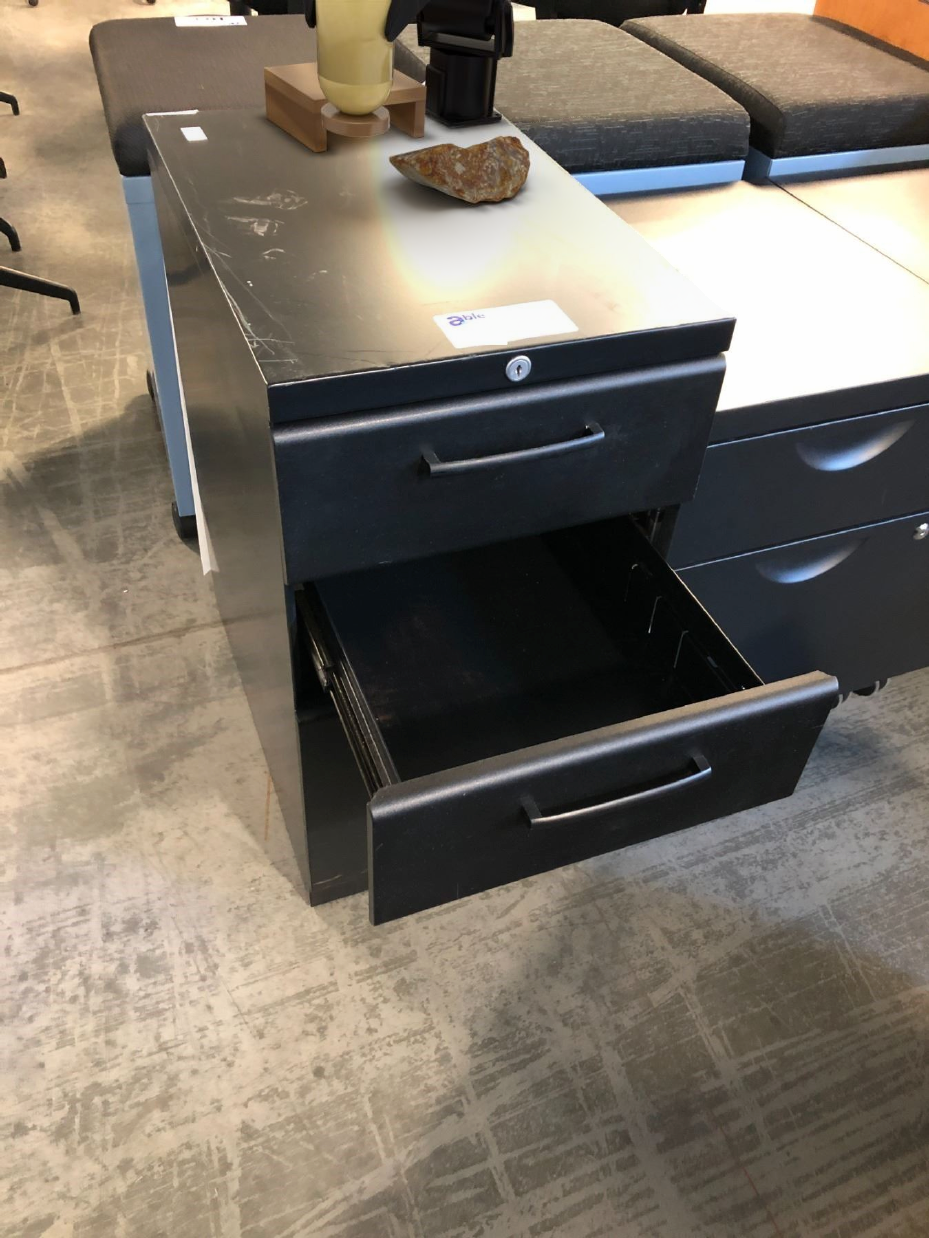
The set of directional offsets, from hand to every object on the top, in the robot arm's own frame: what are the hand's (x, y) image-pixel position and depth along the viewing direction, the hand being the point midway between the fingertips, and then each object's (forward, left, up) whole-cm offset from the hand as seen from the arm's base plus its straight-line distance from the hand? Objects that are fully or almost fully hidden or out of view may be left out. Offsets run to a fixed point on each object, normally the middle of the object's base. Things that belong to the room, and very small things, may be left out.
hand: (348, 31), depth 68 cm
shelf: (-12, -21, -14) cm, 28 cm away
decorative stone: (-14, -4, -14) cm, 20 cm away
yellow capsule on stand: (-1, -1, -7) cm, 7 cm away
